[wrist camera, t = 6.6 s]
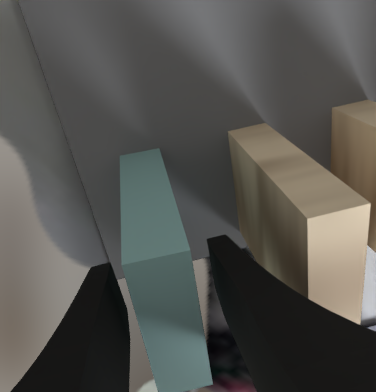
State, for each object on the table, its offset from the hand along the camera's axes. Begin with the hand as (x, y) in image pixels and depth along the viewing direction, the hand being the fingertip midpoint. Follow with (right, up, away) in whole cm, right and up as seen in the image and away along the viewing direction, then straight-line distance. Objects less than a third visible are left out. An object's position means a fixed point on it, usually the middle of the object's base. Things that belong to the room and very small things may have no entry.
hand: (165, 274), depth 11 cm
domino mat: (+7, +6, +4) cm, 10 cm away
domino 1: (-1, +2, +4) cm, 5 cm away
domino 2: (+4, +3, +4) cm, 7 cm away
